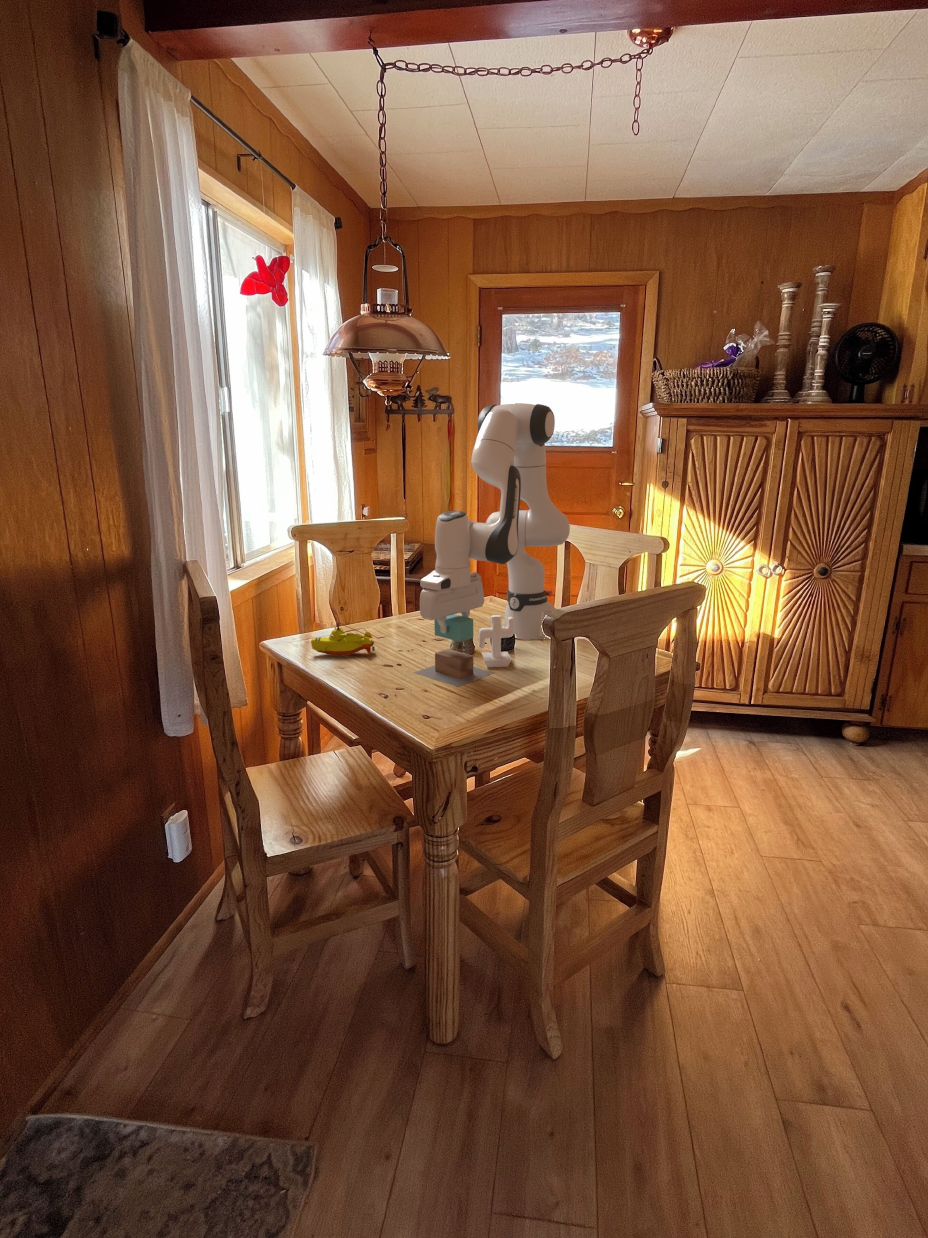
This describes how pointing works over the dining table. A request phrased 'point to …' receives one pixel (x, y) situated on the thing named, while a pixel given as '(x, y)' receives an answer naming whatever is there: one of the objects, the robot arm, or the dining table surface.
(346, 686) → the dining table surface
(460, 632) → the teal block
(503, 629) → the figurine
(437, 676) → the baseplate
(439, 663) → the walnut block
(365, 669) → the dining table surface
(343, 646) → the toy boat
